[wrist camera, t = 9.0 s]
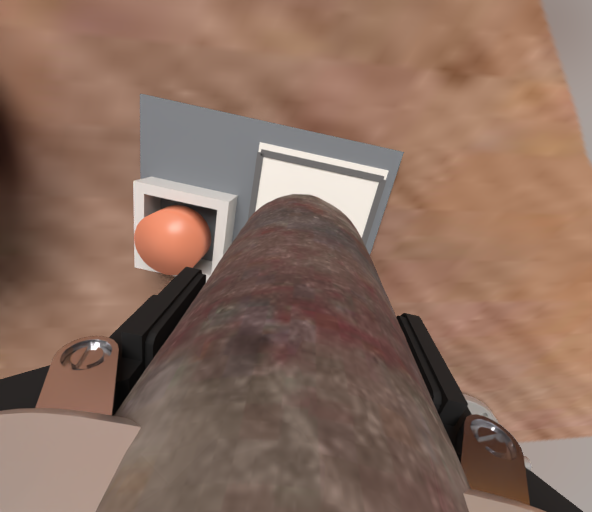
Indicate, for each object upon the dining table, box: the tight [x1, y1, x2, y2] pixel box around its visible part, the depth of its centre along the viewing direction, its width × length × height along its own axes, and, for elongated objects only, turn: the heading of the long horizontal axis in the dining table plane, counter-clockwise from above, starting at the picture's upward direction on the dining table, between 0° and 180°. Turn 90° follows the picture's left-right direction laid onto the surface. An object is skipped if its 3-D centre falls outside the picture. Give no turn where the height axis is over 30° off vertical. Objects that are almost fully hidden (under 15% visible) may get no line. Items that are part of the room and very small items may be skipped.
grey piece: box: [133, 94, 404, 282], centre depth 24 cm, size 20×14×4 cm
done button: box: [134, 205, 211, 275], centre depth 22 cm, size 5×5×2 cm
